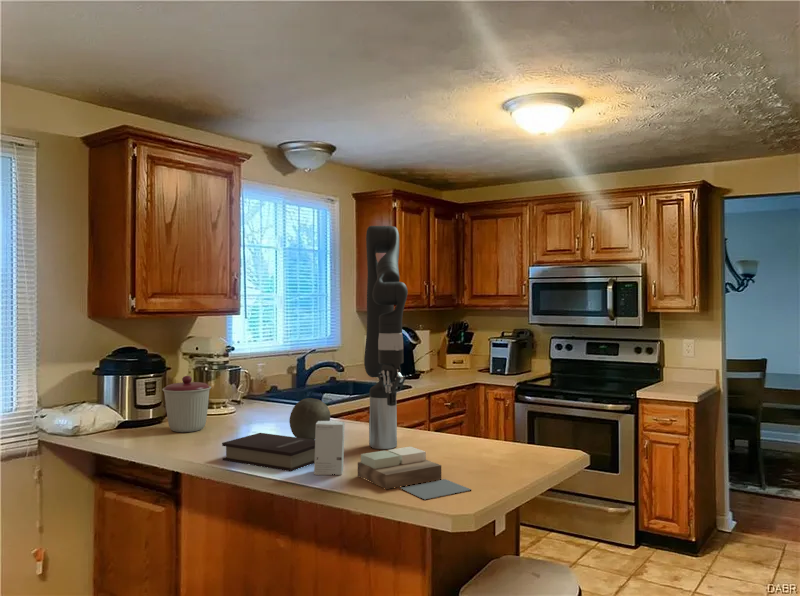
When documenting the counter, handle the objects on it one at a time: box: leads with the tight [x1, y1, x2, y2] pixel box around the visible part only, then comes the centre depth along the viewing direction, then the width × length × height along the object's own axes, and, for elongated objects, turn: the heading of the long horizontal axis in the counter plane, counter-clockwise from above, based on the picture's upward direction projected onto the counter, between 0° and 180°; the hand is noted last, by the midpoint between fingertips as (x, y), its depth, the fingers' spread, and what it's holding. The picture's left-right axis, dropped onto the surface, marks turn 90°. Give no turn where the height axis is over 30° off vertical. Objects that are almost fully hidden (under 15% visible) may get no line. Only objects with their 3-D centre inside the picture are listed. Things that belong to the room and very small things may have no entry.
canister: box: [162, 375, 212, 433], centre depth 258 cm, size 18×18×21 cm
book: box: [221, 432, 315, 472], centre depth 212 cm, size 28×20×6 cm
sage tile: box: [360, 449, 399, 469], centre depth 188 cm, size 8×8×2 cm
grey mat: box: [399, 478, 472, 501], centre depth 177 cm, size 12×15×1 cm
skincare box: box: [313, 420, 345, 476], centre depth 194 cm, size 8×6×15 cm
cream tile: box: [387, 446, 427, 464], centre depth 193 cm, size 8×8×2 cm
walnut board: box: [357, 459, 442, 490], centre depth 188 cm, size 16×18×4 cm
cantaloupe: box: [289, 397, 331, 440], centre depth 238 cm, size 14×14×15 cm
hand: (391, 405), depth 200 cm, fingers closed
